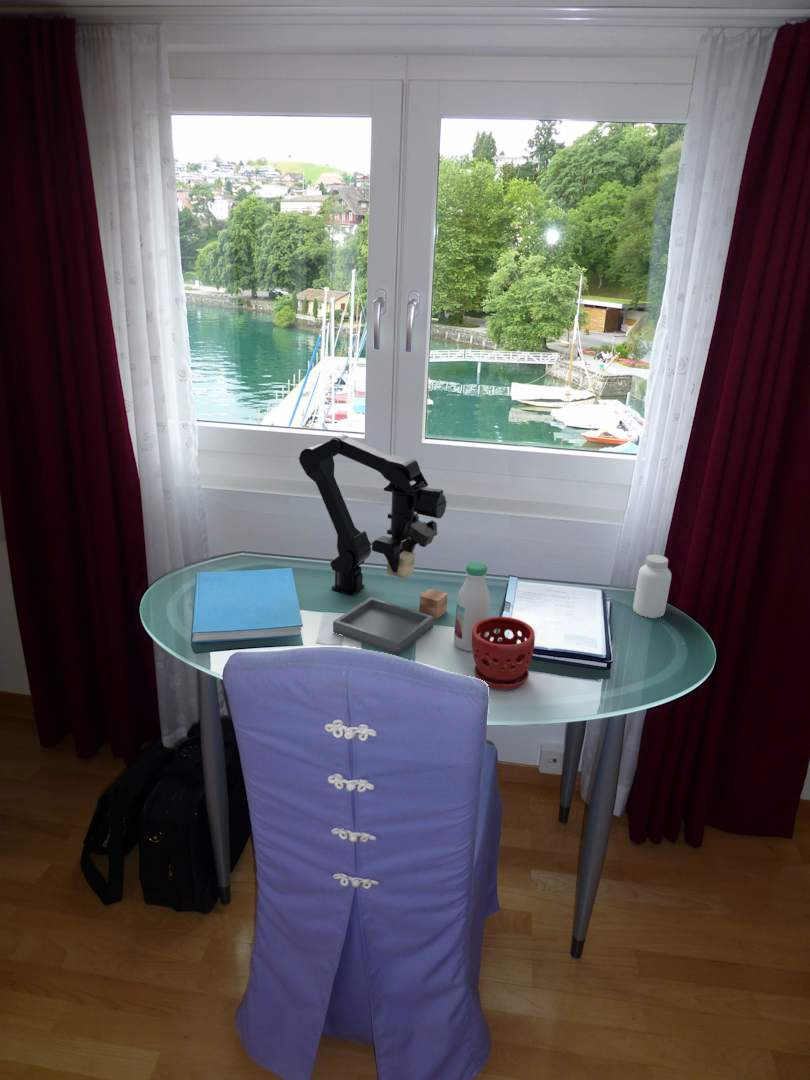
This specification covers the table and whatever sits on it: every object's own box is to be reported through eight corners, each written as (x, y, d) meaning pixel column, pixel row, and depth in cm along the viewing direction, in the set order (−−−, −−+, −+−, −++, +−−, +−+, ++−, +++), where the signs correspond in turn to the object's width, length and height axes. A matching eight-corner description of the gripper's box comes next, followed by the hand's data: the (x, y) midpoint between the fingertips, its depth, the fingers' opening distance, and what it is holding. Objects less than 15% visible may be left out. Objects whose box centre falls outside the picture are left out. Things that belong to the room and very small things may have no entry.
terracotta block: (419, 613, 202) (420, 595, 200) (428, 606, 206) (430, 588, 204) (436, 619, 200) (437, 601, 198) (446, 611, 204) (447, 593, 202)
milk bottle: (490, 640, 191) (497, 562, 184) (482, 655, 184) (489, 574, 177) (458, 633, 193) (464, 556, 186) (449, 648, 187) (455, 568, 179)
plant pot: (490, 657, 184) (495, 609, 179) (541, 678, 176) (547, 629, 172) (456, 679, 174) (460, 629, 170) (508, 703, 167) (513, 651, 162)
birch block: (386, 573, 204) (387, 555, 202) (397, 566, 208) (397, 548, 206) (403, 578, 201) (404, 559, 200) (414, 571, 205) (414, 553, 204)
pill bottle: (630, 615, 207) (639, 560, 201) (634, 602, 214) (643, 549, 208) (662, 621, 204) (672, 567, 198) (666, 608, 211) (675, 555, 205)
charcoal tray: (332, 632, 191) (333, 621, 190) (370, 607, 204) (370, 597, 203) (398, 655, 183) (398, 643, 182) (433, 627, 196) (433, 616, 194)
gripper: (412, 528, 187) (409, 589, 193) (450, 506, 202) (446, 564, 208) (371, 518, 192) (369, 578, 198) (411, 497, 207) (408, 554, 213)
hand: (400, 568), depth 204 cm, fingers closed on birch block, 5 cm apart
